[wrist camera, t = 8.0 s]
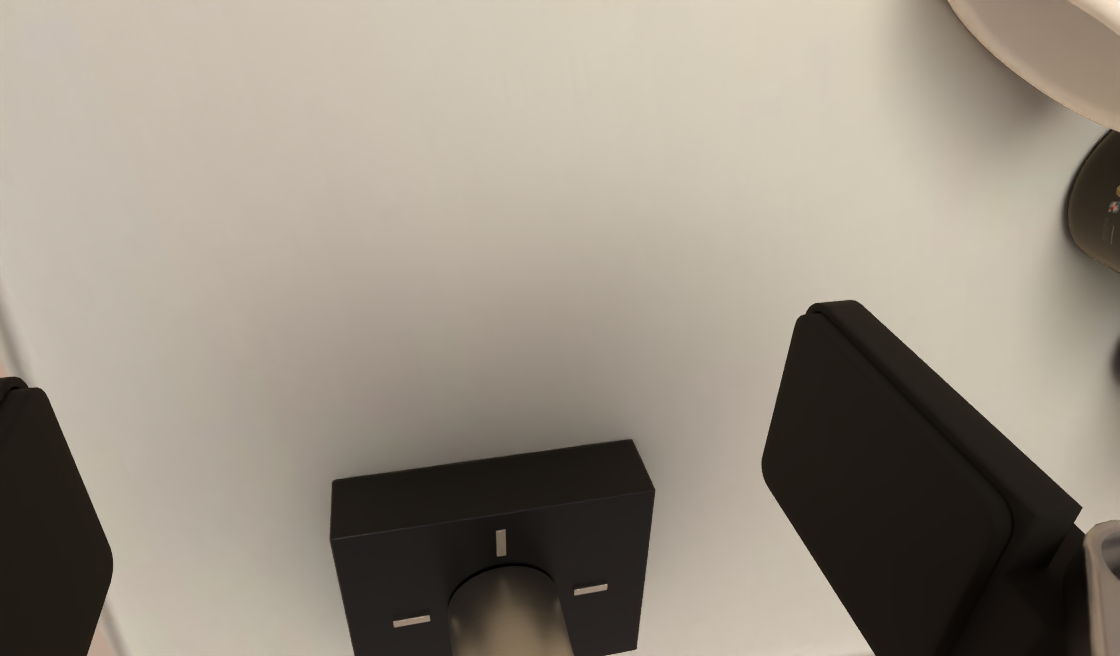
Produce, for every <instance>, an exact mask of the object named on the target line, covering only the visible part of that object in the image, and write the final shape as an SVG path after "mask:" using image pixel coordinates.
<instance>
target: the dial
mask: <svg viewBox="0 0 1120 656" xmlns="http://www.w3.org/2000/svg"><path fill="white" fill-rule="evenodd" d="M448 619H449V628H450V637H451V645H452V654H453V656H574V654H573V650H572V646H571V642H570V638H569V635H568V631H567V627H566V623H565V619H564V616H563V612H562V608H561V604H560V600H559V597H558V593H557V589H556V586H555V584H554V582H553V581H552V580H551V579H550V578H549V576H547V575H546V574H545V573H543V572H541V571H539V570H537V569H534V568H530V567H524V566H506V567H499V568H495V569H491V570H488V571H485V572H483V573H481V574H478V575H476V576H475V577H473V578H471V579H470V580H468V581H467V582H465V583H464V584H463V585H462V586H461V587H460V588H459V589H458V590H457V591H456V592H455V594H454V595H453V596H452V598H451V600H450V603H449V606H448Z"/></svg>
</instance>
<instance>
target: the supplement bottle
mask: <svg viewBox="0 0 1120 656" xmlns="http://www.w3.org/2000/svg"><path fill="white" fill-rule="evenodd" d="M1068 223H1069V229H1070V232H1071V235H1072V237H1073V240H1074V241H1075V243H1076V244H1077V246H1078V247H1079V248H1080V249H1081V250H1082V251H1083V252H1084V253H1085V254H1087V255H1088V256H1090V257H1091V258H1093V259H1094V260H1096V261H1098V262H1100V263H1101V264H1103V265H1105V266H1107V267H1108V268H1110V269H1111V270H1113V271H1115V272H1117V273H1119V274H1120V132H1118V131H1115V130H1112V131H1111V132H1110V133H1109V134H1108V135H1107V136H1106V137H1105V138H1104V139H1103V140H1102V141H1101V142H1100V144H1099V145H1098V146H1097V147H1096V148H1095V150H1094V151H1093V152H1092V153H1091V155H1090V156H1089V158H1088V159H1087V161H1086V162H1085V164H1084V165H1083V167H1082V169H1081V171H1080V173H1079V174H1078V177H1077V179H1076V181H1075V183H1074V186H1073V189H1072V192H1071V196H1070V200H1069V205H1068Z"/></svg>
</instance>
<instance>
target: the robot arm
mask: <svg viewBox="0 0 1120 656" xmlns="http://www.w3.org/2000/svg"><path fill="white" fill-rule="evenodd" d="M762 473H763V477H764V480H765V482H766V484H767V486H768V488H769V489H770V491H771V492H772V494H773V496H774V497H775V499H776V500H777V502H778V503H779V505H780V507H781V508H782V510H783V511H784V513H785V514H786V516H787V518H788V519H789V521H790V522H791V524H792V525H793V527H794V528H795V530H796V532H797V533H798V535H799V536H800V538H801V539H802V541H803V543H804V544H805V546H806V547H807V549H808V550H809V552H810V554H811V555H812V557H813V558H814V560H815V561H816V563H817V564H818V566H819V568H820V569H821V571H822V572H823V574H824V575H825V577H826V579H827V580H828V582H829V583H830V585H831V586H832V588H833V590H834V591H835V593H836V594H837V596H838V597H839V599H840V600H841V602H842V604H843V605H844V607H845V608H846V610H847V611H848V613H849V615H850V616H851V618H852V619H853V621H854V622H855V624H856V626H857V627H858V629H859V630H860V632H861V633H862V635H863V636H864V638H865V640H866V641H867V643H868V644H869V646H870V647H871V649H872V651H873V652H874V654H875V655H876V656H1120V520H1110V521H1106V522H1103V523H1099V524H1096V525H1095V526H1094V527H1093V528H1092V529H1091V530H1090V531H1088V532H1087V534H1086V535H1085V534H1084V533H1083V532H1082V531H1081V530H1080V529H1079V528H1078V527H1077V526H1076V525H1075V524H1074V522H1075V520H1076V518H1077V516H1078V515H1079V513H1080V511H1081V510H1082V508H1083V507H1081V506H1080V505H1079V504H1078V503H1077V502H1076V501H1075V500H1074V499H1073V498H1072V497H1071V496H1069V495H1068V494H1067V493H1066V492H1065V491H1064V490H1063V489H1062V488H1061V487H1060V486H1059V485H1058V484H1056V483H1055V482H1054V481H1053V480H1052V479H1051V478H1050V477H1049V476H1048V475H1047V474H1046V473H1044V472H1043V471H1042V470H1041V469H1040V468H1039V467H1038V466H1037V465H1036V464H1035V463H1034V462H1032V461H1031V460H1030V459H1029V458H1028V457H1027V456H1026V455H1025V454H1024V453H1023V452H1022V451H1021V450H1019V449H1018V448H1017V447H1016V446H1015V445H1014V444H1013V443H1012V442H1011V441H1010V440H1009V439H1007V438H1006V437H1005V436H1004V435H1003V434H1002V433H1001V432H1000V431H999V430H998V429H997V428H995V427H994V426H993V425H992V424H991V423H990V422H989V421H988V420H987V419H986V418H985V417H984V416H982V415H981V414H980V413H979V412H978V411H977V410H976V409H975V408H974V407H973V406H972V405H970V404H969V403H968V402H967V401H966V400H965V399H964V398H963V397H962V396H961V395H960V394H958V393H957V392H956V391H955V390H954V389H953V388H952V387H951V386H950V385H949V384H948V383H946V382H945V381H944V380H943V379H942V378H941V377H940V376H939V375H938V374H937V373H936V372H935V371H933V370H932V369H931V368H930V367H929V366H928V365H927V364H926V363H925V362H924V361H923V360H921V359H920V358H919V357H918V356H917V355H916V354H915V353H914V352H913V351H912V350H911V349H909V348H908V347H907V346H906V345H905V344H904V343H903V342H902V341H901V340H900V339H899V338H898V337H896V336H895V335H894V334H893V333H892V332H891V331H890V330H889V329H888V328H887V327H886V326H884V325H883V324H882V323H881V322H880V321H879V320H878V319H877V318H876V317H875V316H874V315H872V314H871V313H870V312H869V311H868V310H867V309H866V308H865V307H864V306H863V305H862V304H860V303H859V302H857V301H854V300H845V301H834V302H823V303H815V304H813V305H811V306H810V307H809V309H808V310H807V312H806V314H805V315H802V316H800V317H799V318H798V319H797V321H796V324H795V327H794V331H793V335H792V339H791V343H790V347H789V351H788V355H787V359H786V363H785V367H784V371H783V375H782V379H781V383H780V388H779V392H778V396H777V400H776V404H775V408H774V412H773V416H772V420H771V424H770V428H769V432H768V436H767V440H766V444H765V448H764V452H763V456H762ZM112 573H113V557H112V552H111V548H110V546H109V543H108V541H107V538H106V536H105V533H104V531H103V529H102V526H101V524H100V521H99V519H98V517H97V514H96V512H95V509H94V507H93V505H92V502H91V500H90V497H89V495H88V493H87V490H86V488H85V485H84V483H83V481H82V478H81V476H80V473H79V471H78V469H77V466H76V464H75V461H74V459H73V457H72V454H71V452H70V449H69V447H68V445H67V442H66V440H65V437H64V435H63V433H62V430H61V428H60V425H59V423H58V421H57V418H56V416H55V413H54V411H53V409H52V406H51V404H50V401H49V399H48V397H47V395H46V393H45V392H44V391H43V390H42V389H41V388H37V387H36V388H28V386H27V384H26V383H25V382H24V381H23V380H22V379H21V378H18V377H5V378H0V656H87V654H88V650H89V647H90V644H91V641H92V638H93V635H94V632H95V629H96V626H97V623H98V620H99V617H100V613H101V610H102V607H103V604H104V601H105V598H106V595H107V592H108V589H109V586H110V583H111V579H112Z"/></svg>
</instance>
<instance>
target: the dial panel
mask: <svg viewBox="0 0 1120 656" xmlns="http://www.w3.org/2000/svg"><path fill="white" fill-rule="evenodd" d="M654 497H655V488H654V486H653V484H652V481H651V479H650V477H649V475H648V473H647V470H646V468H645V466H644V464H643V462H642V459H641V457H640V455H639V453H638V451H637V448H636V446H635V444H634V442H633V440H624V441H617V442H610V443H602V444H595V445H588V446H581V447H573V448H566V449H559V450H552V451H544V452H537V453H530V454H523V455H515V456H508V457H501V458H494V459H486V460H479V461H472V462H465V463H457V464H450V465H443V466H436V467H428V468H421V469H414V470H407V471H399V472H392V473H385V474H378V475H370V476H363V477H356V478H349V479H341V480H334V481H333V482H332V495H331V518H330V544H331V549H332V553H333V558H334V563H335V567H336V572H337V577H338V581H339V586H340V590H341V595H342V600H343V604H344V609H345V614H346V618H347V623H348V628H349V632H350V637H351V642H352V646H353V651H354V656H453V654H452V645H451V637H450V628H449V619H448V606H449V603H450V600H451V598H452V596H453V595H454V594H455V592H456V591H457V590H458V589H459V588H460V587H461V586H462V585H463V584H464V583H465V582H467V581H468V580H470V579H471V578H473V577H475V576H476V575H478V574H481V573H483V572H485V571H488V570H491V569H495V568H499V567H506V566H524V567H530V568H534V569H537V570H539V571H541V572H543V573H545V574H546V575H547V576H549V578H550V579H551V580H552V581H553V582H554V584H555V586H556V589H557V593H558V597H559V600H560V604H561V608H562V612H563V616H564V619H565V623H566V627H567V631H568V635H569V638H570V642H571V646H572V650H573V654H574V656H606V655H611V654H616V653H622V652H627V651H632V650H636V649H637V640H638V632H639V624H640V615H641V607H642V598H643V590H644V581H645V573H646V565H647V556H648V548H649V539H650V531H651V523H652V514H653V506H654Z"/></svg>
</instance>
